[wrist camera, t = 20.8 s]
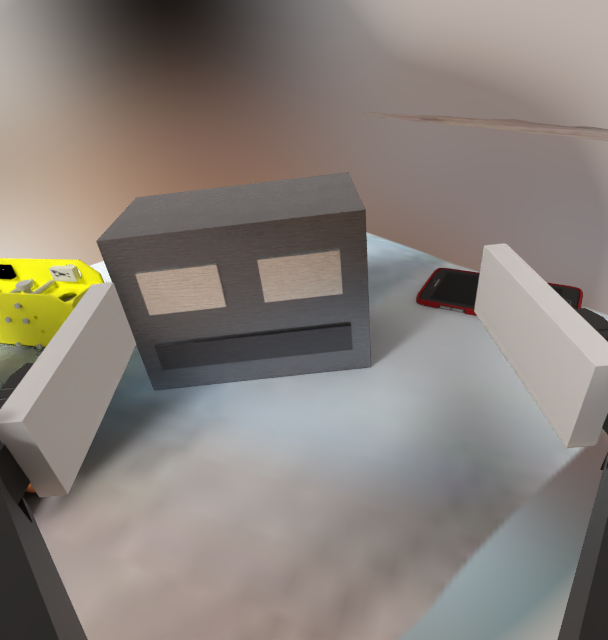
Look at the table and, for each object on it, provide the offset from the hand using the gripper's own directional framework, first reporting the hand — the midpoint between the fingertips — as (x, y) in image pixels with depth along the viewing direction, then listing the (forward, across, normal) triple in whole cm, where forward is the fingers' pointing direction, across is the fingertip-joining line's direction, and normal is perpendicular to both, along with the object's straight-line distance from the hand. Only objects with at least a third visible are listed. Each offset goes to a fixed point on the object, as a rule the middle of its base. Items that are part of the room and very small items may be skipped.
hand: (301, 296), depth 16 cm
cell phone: (+24, +19, -17) cm, 35 cm away
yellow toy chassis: (+27, -28, -18) cm, 43 cm away
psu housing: (+20, -4, -17) cm, 27 cm away
